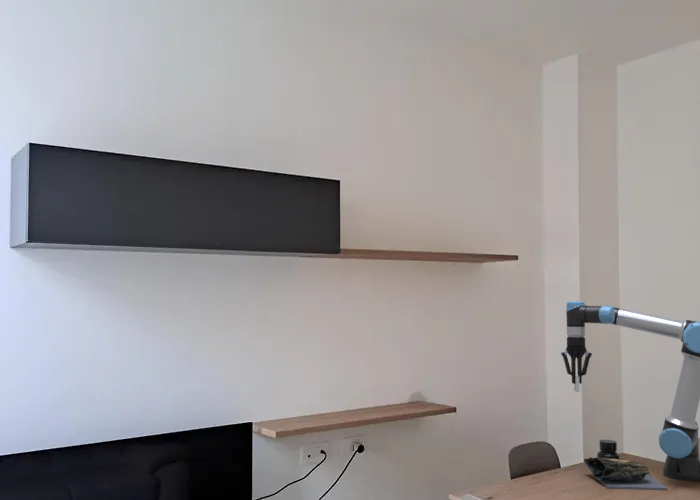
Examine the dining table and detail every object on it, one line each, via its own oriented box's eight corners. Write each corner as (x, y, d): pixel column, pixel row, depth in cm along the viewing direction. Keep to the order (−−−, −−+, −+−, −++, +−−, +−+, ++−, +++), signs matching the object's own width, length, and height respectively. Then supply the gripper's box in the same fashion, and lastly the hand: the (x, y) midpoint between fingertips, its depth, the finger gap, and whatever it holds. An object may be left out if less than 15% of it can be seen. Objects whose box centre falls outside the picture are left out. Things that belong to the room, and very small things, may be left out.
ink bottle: (593, 467, 274) (593, 438, 275) (613, 467, 274) (613, 438, 275) (603, 473, 264) (602, 443, 265) (624, 473, 265) (623, 443, 265)
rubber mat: (648, 476, 260) (648, 474, 260) (667, 490, 241) (667, 488, 241) (592, 474, 262) (592, 472, 262) (607, 488, 243) (607, 486, 243)
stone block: (603, 485, 244) (652, 490, 246) (606, 462, 244) (655, 467, 246) (581, 468, 262) (627, 473, 264) (584, 447, 262) (629, 452, 264)
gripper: (588, 336, 280) (589, 390, 278) (558, 335, 281) (559, 389, 279) (593, 337, 272) (595, 392, 271) (562, 336, 274) (563, 392, 272)
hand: (576, 391), depth 275 cm, fingers closed
